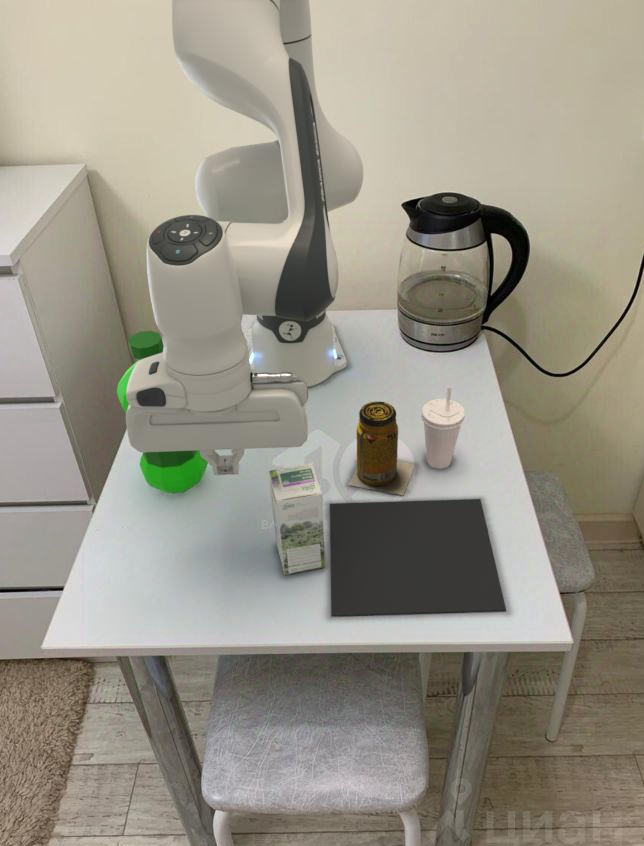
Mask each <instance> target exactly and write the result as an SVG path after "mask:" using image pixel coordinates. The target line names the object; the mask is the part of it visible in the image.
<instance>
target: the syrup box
mask: <svg viewBox="0 0 644 846" xmlns="http://www.w3.org/2000/svg"><path fill="white" fill-rule="evenodd" d="M268 480H269V488H270V497H271V507H272V513H273V521H274V530H275V539H276V541H275V542H276V547H277V550H278V554H279V555H278V556H279V557H280V558H279V559H280V562H281V566H282V571H283V574H284V576H289V575H294V574H299V573H305V572H308V571H313V570H319V569H323V568H325V567H326V551H325V532H324V531H325V530H324V527H325V526H324V506H323V504H324V503H323V493H322V489H321V487H320V484H319V481H318V478H317V475H316V471H315V469H314V465H313V464H312V463H307V464H306V463H305V464H301V465H295V466H290V467H283V468H278V469H272V470H268Z"/></svg>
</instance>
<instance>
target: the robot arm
mask: <svg viewBox="0 0 644 846" xmlns="http://www.w3.org/2000/svg"><path fill="white" fill-rule="evenodd" d="M171 1H172V4H171V29H172V40H173V41H172V43H173V49H174V55H175V58H176V60H177V62H178V65H179V66H180V67H179V68H180V69H181V71H182V72H183V73H184V75H185V77H186V78H187V79H188V81H189V82H190V83H191V84H192V85H193V86H194V87H195V88H196V89H197V90H198V91H199V92H201V93H202V94H203V95H205V96H206V97H207V98H209V99H210V100H211V101H213V102H214V103H216V104H218V105H221V106H222V107H224V108H226V109H229V110H231V111H233V112H236V113H238V114H240V115H242V116H245V117H247V118H249V119H252V120H253V121H255V122H258V123H259V124H261V125H263V126H265V127H266V128H268V129H269V130H270V131H271V132H272V133H274V135H275V136H276V138H277V140H274V141H270V142H269V141H268V142H262V143H254V144H247V145H240V146H233V147H229V148H227V149H224V150H221V151H219V152H218V151H217V152H215V153H213V154H211V155H208V156H205V157H204V158H203V159H202V160H201V162H200V163H199V165H198V167H197V170H196V174H195V179H194V190H195V191H194V192H195V196H196V199H197V203H198V205H199V207H200V209H201V211H202V212H203V214H205V215H201V214H186V215H180V216H179V215H178V216H176V217H172V218H170V219H168V220H167V219H166V221H163V222H162V223H160V224H159V225H157V226H156V227H155V228H154V229H153V230H152V231H151V233H150V234H149V236H148V237H147V240H146V241H147V243H146V271H147V272H146V273H147V282H148V290H149V297H150V302H151V309H152V312H153V318H154V322H155V324H156V327H157V328H158V331H159V333H161V334H160V335H161V337H162V341H163V352H162V353H159V354H156V355H153V356H150V357H147V358H144V359H141V360H139V361H138V362H137V361H136V362H137V364H136V365H135V367H134V369H133V371H132V373H131V376H130V378H129V381H128V385H127V391H126V398H127V401H128V403H129V406H128V409H127V412H126V413H125V424H126V432H127V437H128V441H129V444H130V446H131V447H132V448H133V449H134V450H136V451H137V452H139V453H143V452H166V451H195V450H199V451H200V456H201V457H203V458H204V459H205V460H206V461H207V462H208V464H209V465H210V466H211V467H212V472H213V475H214V476H227V475H231V476H232V475H239V473H240V461H241V460H242V458H243V457H244V455H245V450H249V449H250V450H251V449H252V450H253V449H255V450H256V449H278V448H279V449H280V448H281V449H282V448H300V447H302V446H304V445H305V443H306V442H307V441H308V437H309V425H308V415H307V410H306V406H305V405H306V404H307V402H308V400H309V387H314V386H316V385H319V384H320V383H322V382H325V381H326V380H328V378H330V377H331V376H332V375H333V374H334V373H336V372H339V371H342V370H344V369H345V368H346V367H347V366H348V361H347V357H346V356H345V353H344V351H343V348H342V346H341V343H340V341H339V338H338V335H337V333H336V330H335V326H333V324H332V322H331V320H330V318H329V316H328V315H327V310H326V309H327V308H329V307H330V306H331V305H332V303H334V301H335V299H336V294H337V290H338V287H339V278H340V277H339V275H340V274H339V273H340V272H339V262H338V257H337V252H336V249H335V245H334V242H333V238H332V235H331V228H330V221H329V214H328V213H330V212H331V211H334V210H338V209H340V208H342V207H345V206H347V205H350V204H352V203H353V202H355V201H356V199H357V198H358V197H359V194H360V192H361V189H362V187H363V181H364V165H363V161H362V157H361V155H360V153H359V151H358V149H357V148H356V146H355V145H354V144H353V143H352V142H351V141H350V140H349V139H348V138H346V136H344V135H342V134H341V133H339V132H338V131H337V130H336V129H335V128H334V127H333V125H332V124H331V123H330V122H329V120H328V119H327V117H326V115H325V113H324V111H323V109H322V106H321V104H320V101H319V98H318V93H317V89H316V88H317V87H316V80H315V67H314V57H313V34H312V17H311V6H310V0H171ZM244 315H246V316H249V315H250V316H256V318H254V319H253V320H252V323H251V324H252V325H251V326H250V328H249V339H250V340H249V341H250V349H249V347H248V342H247V341H248V340H247V339H246V337H245V334H244V332H243V329H242V322H243V316H244ZM222 450H223V451H224V450H231V454H230V455H219V453H218V452H217V451H222Z"/></svg>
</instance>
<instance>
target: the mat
mask: <svg viewBox="0 0 644 846" xmlns="http://www.w3.org/2000/svg"><path fill="white" fill-rule="evenodd" d="M329 533H330V534H329V537H330V538H329V539H330V541H329V542H330V543H329V545H330V546H329V547H330V598H331V599H330V611H331V613H330V616H331V617H333V618H334V617H361V616H362V617H363V616H393V615H396V616H397V615H425V614H429V615H430V614H455V613H458V614H459V613H487V612H488V613H490V612H491V613H492V612H493V613H494V612H507V607H506V603H505V598H504V594H503V590H502V586H501V581H500V578H499V573H498V568H497V565H496V560H495V556H494V551H493V546H492V542H491V538H490V535H489V530H488V525H487V521H486V516H485V512H484V509H483V504H482V499H481V498H467V499H465V498H464V499H433V500H432V499H430V500H401V501H400V500H399V501H371V502H370V501H369V502H365V501H364V502H338V503H336V502H334V503H329Z"/></svg>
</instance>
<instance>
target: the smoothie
mask: <svg viewBox="0 0 644 846" xmlns="http://www.w3.org/2000/svg"><path fill="white" fill-rule="evenodd" d="M451 397H452V386H451V385H448V386H447V390H446V398H435V399H432V400H429V401H427V402H426V403H424V405H423V406H422V409H421V414H420V417H421V419H422V421H423V428H424V429H423V430H424V442H425V452H426V453H425V454H426V455H425V456H426V463H427V465H428V466H430V467H431V468H433V469H438V470H440V469H446V468H448V467H449V466H450V465H451V463H452V460H453V456H454V452H455V448H456V444H457V441H458V437H459V433H460V430H461V426H462V425H463V423H464V422H465V418H466V411H465V408H464V406H462V405H461V404H460V403H459V402H457V401H455V400H453V399H452V398H451Z"/></svg>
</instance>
